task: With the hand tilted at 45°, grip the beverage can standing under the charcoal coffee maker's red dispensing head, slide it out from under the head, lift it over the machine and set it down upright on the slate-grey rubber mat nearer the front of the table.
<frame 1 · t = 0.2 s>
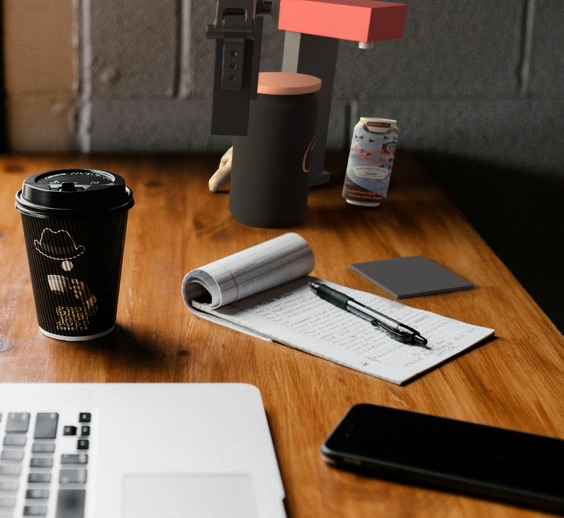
hand: (235, 115, 70), 23 cm above the table, tool pointing down, fingers open, 13 cm apart
mat: (409, 277, 100), on the table
coffee maker: (363, 204, 124), on the table
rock: (226, 178, 136), on the table
beverage can: (363, 205, 124), on the table
coffee jar: (266, 218, 119), on the table
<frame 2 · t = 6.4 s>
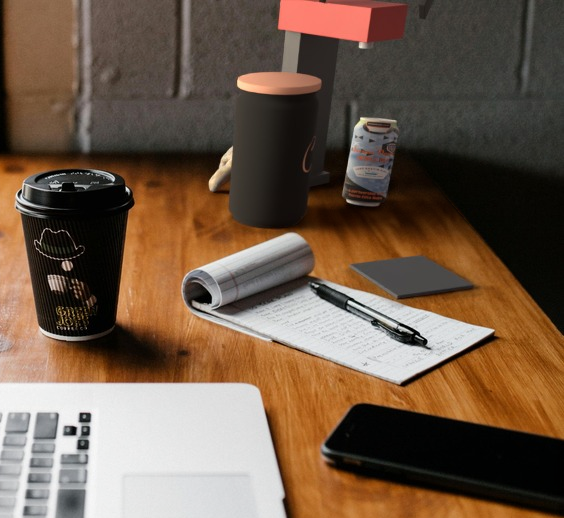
hand: (369, 4, 108), 26 cm above the table, tool tilted 40°, fingers open, 12 cm apart
nothing on the table moved.
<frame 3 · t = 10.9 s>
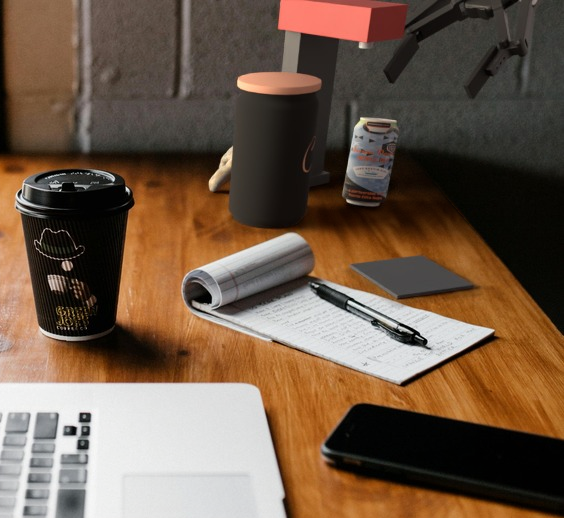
hand: (426, 84, 121), 15 cm above the table, tool tilted 45°, fingers open, 13 cm apart
nothing on the table moved.
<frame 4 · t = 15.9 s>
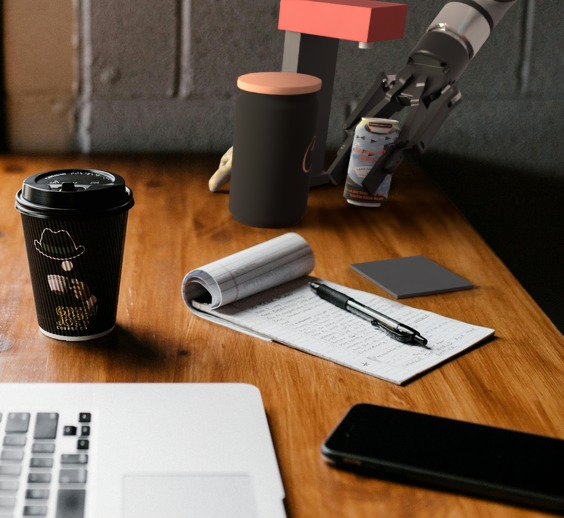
hand: (349, 183, 120), 3 cm above the table, tool tilted 45°, fingers closed on beverage can, 6 cm apart
beverage can: (364, 205, 124), on the table, touching gripper
everything else where it was.
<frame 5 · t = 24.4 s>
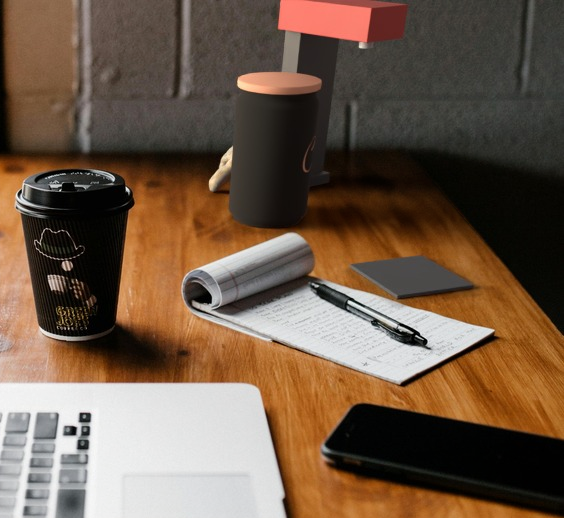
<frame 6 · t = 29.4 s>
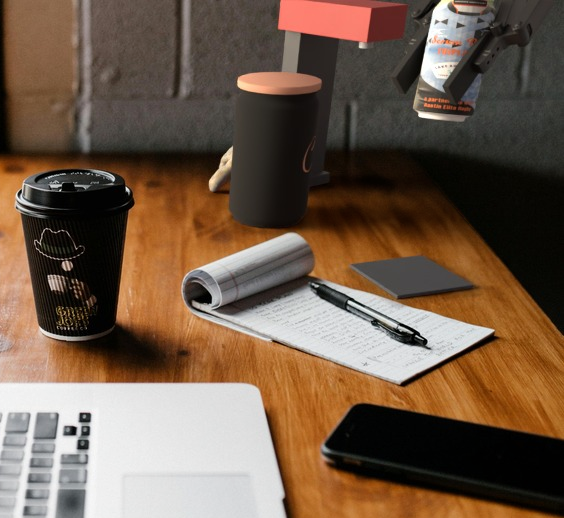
hand: (423, 89, 87), 21 cm above the table, tool tilted 45°, fingers closed on beverage can, 6 cm apart
beverage can: (441, 122, 91), point 17 cm above the table, touching gripper
everything else where it was.
when the fingers open (4 cm above the table, at t = 33.4 s): beverage can stays where it is, resting on mat.
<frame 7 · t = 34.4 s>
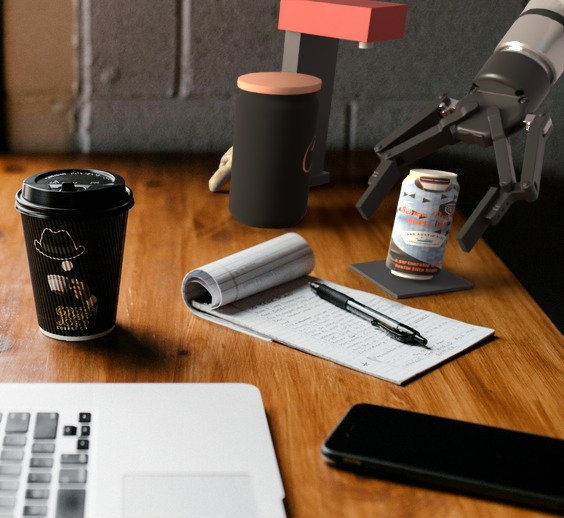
hand: (409, 228, 96), 6 cm above the table, tool tilted 45°, fingers open, 13 cm apart
beverage can: (412, 276, 100), resting on mat
everything else where it was.
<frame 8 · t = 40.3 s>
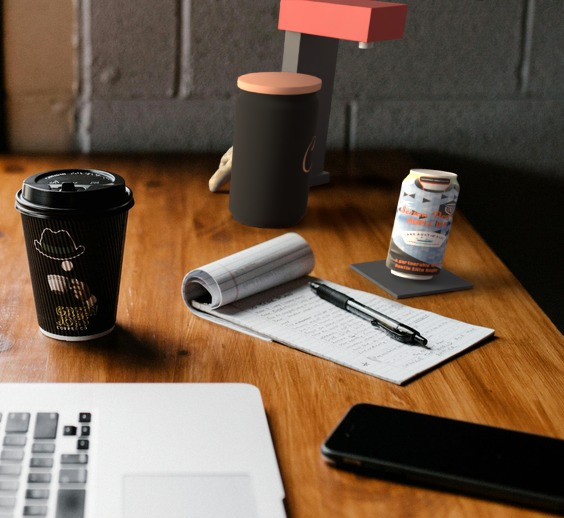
nothing on the table moved.
at the end: beverage can inside the target area on the mat (0.4 cm from its centre), point 0.2 cm above the mat's base; beverage can tilted 0°; the gripper is holding nothing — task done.
